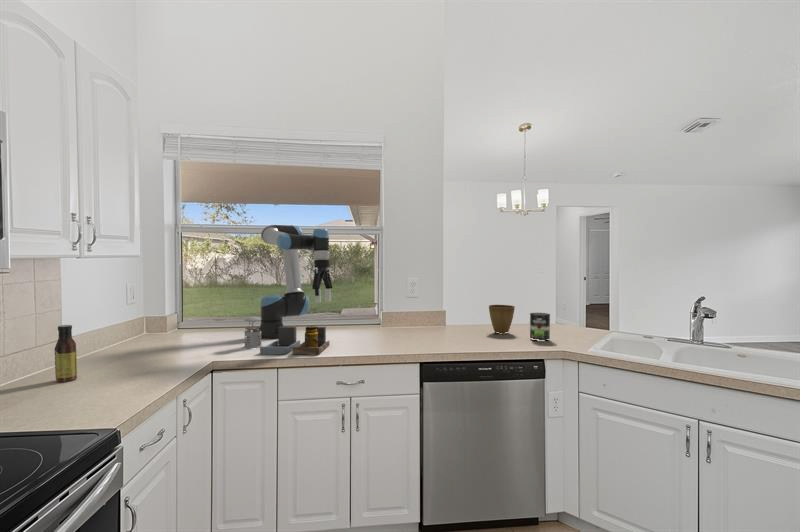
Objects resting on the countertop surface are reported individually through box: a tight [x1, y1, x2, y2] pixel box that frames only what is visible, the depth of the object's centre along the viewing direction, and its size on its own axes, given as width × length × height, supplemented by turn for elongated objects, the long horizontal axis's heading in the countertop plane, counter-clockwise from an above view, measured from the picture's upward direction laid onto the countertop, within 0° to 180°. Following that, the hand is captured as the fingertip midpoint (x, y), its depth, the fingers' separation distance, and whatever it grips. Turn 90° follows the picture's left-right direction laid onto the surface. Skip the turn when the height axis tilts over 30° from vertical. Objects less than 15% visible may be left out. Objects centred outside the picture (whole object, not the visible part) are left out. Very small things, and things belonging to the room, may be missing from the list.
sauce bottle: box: [54, 324, 78, 383], centre depth 155 cm, size 7×6×20 cm
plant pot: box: [488, 304, 515, 333], centre depth 254 cm, size 15×15×16 cm
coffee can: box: [529, 312, 551, 340], centre depth 233 cm, size 10×10×14 cm
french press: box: [242, 296, 263, 350], centre depth 214 cm, size 10×12×25 cm
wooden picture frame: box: [291, 326, 331, 355], centre depth 207 cm, size 22×12×9 cm, turn 176°
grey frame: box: [259, 325, 301, 355], centre depth 208 cm, size 22×12×9 cm, turn 176°
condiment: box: [304, 325, 319, 347], centre depth 202 cm, size 7×8×12 cm
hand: (323, 302), depth 216 cm, fingers open, 13 cm apart
